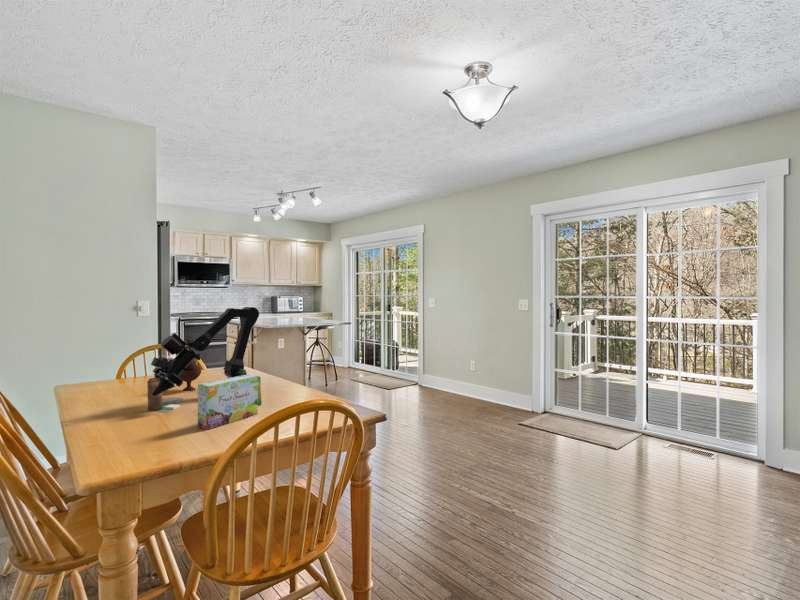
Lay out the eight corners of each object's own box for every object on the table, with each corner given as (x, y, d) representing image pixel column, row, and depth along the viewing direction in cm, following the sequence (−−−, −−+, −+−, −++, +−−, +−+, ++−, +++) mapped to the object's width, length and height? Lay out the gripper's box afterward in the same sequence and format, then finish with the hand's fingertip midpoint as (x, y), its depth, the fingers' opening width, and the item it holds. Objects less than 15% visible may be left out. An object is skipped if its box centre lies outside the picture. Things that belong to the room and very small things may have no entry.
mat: (181, 407, 172) (181, 404, 172) (166, 413, 164) (166, 410, 164) (159, 406, 174) (159, 403, 174) (143, 412, 166) (143, 408, 166)
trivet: (189, 399, 185) (189, 398, 185) (170, 406, 174) (170, 404, 174) (167, 398, 187) (167, 396, 187) (147, 404, 176) (147, 403, 176)
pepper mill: (165, 408, 170) (164, 377, 169) (155, 411, 165) (155, 380, 165) (154, 407, 171) (153, 377, 170) (145, 411, 166) (144, 379, 166)
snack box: (207, 430, 144) (206, 385, 144) (197, 428, 147) (196, 383, 147) (259, 414, 162) (258, 374, 162) (249, 412, 165) (248, 373, 165)
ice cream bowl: (206, 387, 206) (205, 356, 206) (192, 393, 195) (192, 360, 195) (185, 387, 207) (184, 356, 207) (170, 393, 196) (170, 359, 196)
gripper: (157, 347, 177) (126, 378, 169) (173, 351, 164) (140, 385, 156) (178, 364, 183) (149, 394, 175) (195, 369, 169) (165, 403, 162)
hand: (150, 394), depth 167 cm, fingers closed on pepper mill, 5 cm apart
